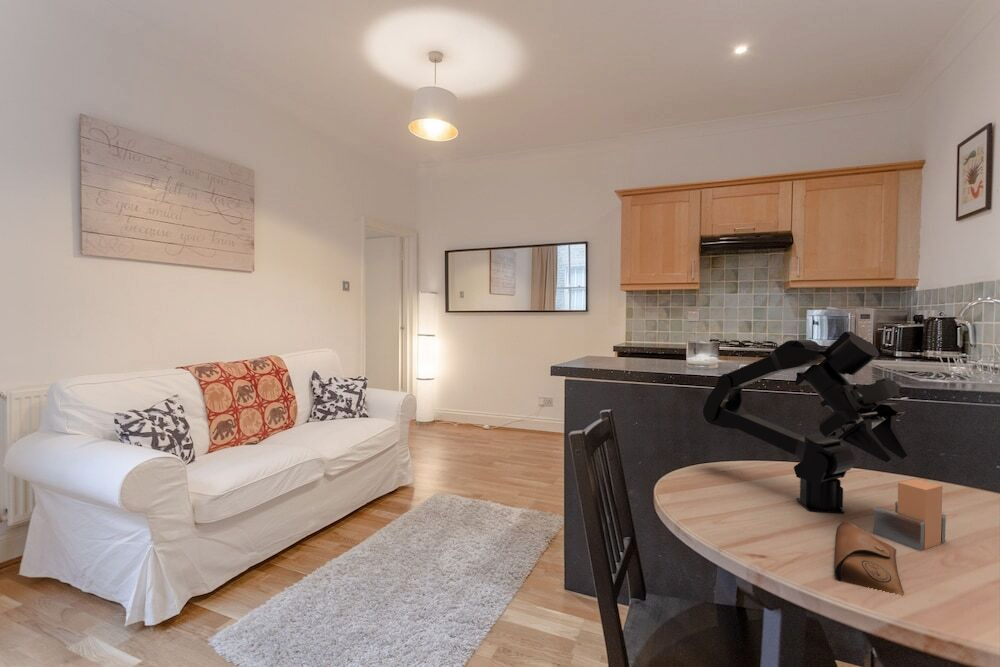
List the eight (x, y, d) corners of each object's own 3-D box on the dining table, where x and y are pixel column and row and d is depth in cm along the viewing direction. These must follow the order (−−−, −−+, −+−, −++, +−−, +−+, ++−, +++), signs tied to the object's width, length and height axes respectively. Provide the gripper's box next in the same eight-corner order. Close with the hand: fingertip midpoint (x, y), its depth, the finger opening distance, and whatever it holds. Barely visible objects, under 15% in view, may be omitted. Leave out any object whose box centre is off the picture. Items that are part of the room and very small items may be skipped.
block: (896, 539, 84) (898, 482, 84) (913, 534, 86) (914, 478, 86) (924, 549, 80) (926, 490, 80) (940, 543, 82) (942, 485, 82)
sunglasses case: (909, 598, 66) (878, 550, 68) (854, 609, 70) (827, 563, 72) (896, 548, 81) (871, 510, 83) (852, 559, 85) (829, 522, 86)
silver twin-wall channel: (873, 534, 86) (873, 507, 86) (898, 527, 89) (898, 501, 89) (919, 552, 80) (920, 522, 80) (945, 543, 83) (946, 515, 83)
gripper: (836, 365, 86) (907, 440, 77) (894, 361, 94) (966, 429, 85) (793, 402, 94) (853, 474, 84) (850, 395, 102) (911, 461, 92)
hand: (897, 459), depth 86 cm, fingers open, 5 cm apart
